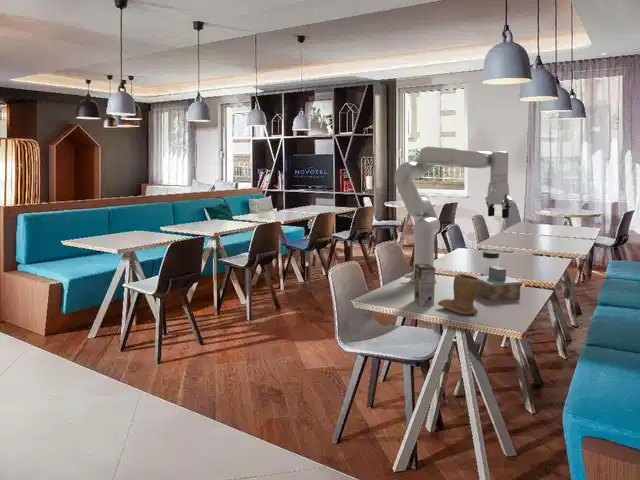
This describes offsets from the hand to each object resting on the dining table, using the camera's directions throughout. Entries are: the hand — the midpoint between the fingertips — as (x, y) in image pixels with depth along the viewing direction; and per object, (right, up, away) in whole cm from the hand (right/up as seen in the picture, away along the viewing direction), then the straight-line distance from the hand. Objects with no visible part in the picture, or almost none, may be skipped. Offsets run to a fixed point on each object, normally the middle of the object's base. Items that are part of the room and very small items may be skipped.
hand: (498, 216), depth 245 cm
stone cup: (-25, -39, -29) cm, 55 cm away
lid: (-3, -29, -9) cm, 30 cm away
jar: (+8, -29, +37) cm, 48 cm away
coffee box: (-37, -37, -17) cm, 55 cm away
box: (-3, -36, -8) cm, 36 cm away
